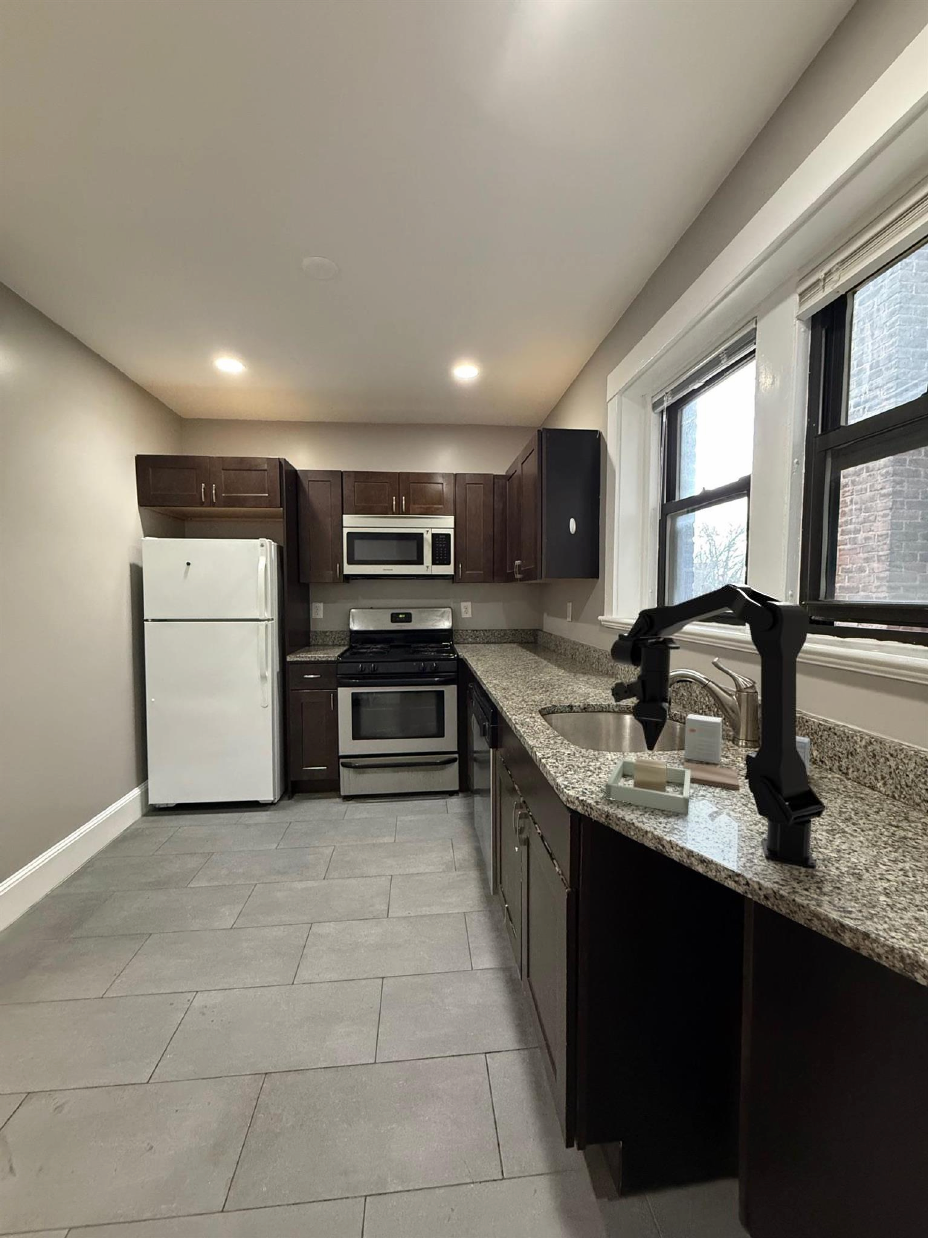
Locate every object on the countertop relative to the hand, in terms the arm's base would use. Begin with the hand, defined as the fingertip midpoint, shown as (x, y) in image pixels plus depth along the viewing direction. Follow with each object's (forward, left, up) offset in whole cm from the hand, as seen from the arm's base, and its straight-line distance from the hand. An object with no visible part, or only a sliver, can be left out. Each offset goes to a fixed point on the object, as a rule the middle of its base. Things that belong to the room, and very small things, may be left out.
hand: (652, 744), depth 104 cm
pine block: (0, 0, -10) cm, 10 cm away
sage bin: (0, 0, -10) cm, 10 cm away
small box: (+30, -10, -10) cm, 33 cm away
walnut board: (+16, -11, -10) cm, 22 cm away
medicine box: (+28, -28, -10) cm, 41 cm away
